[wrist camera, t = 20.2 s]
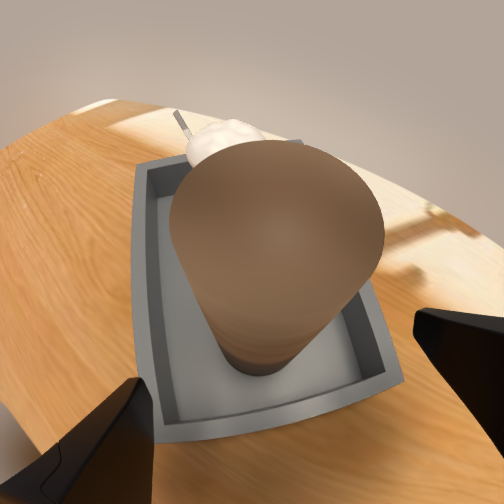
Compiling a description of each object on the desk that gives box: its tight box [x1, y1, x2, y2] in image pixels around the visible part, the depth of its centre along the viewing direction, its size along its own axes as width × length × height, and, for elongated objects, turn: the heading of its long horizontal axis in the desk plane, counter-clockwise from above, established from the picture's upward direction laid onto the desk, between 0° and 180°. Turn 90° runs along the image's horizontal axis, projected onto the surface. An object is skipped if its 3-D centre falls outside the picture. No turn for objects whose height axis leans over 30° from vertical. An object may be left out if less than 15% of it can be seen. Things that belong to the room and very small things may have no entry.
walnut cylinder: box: [169, 140, 385, 377], centre depth 12 cm, size 5×5×13 cm
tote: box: [131, 140, 404, 444], centre depth 19 cm, size 20×14×4 cm
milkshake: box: [173, 110, 265, 170], centre depth 17 cm, size 4×5×10 cm
